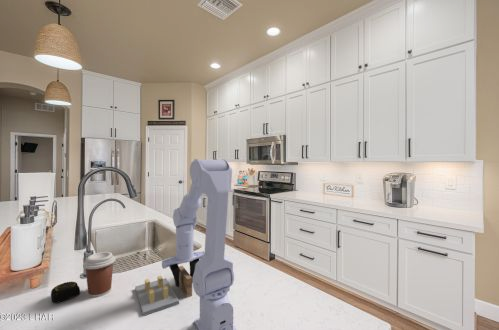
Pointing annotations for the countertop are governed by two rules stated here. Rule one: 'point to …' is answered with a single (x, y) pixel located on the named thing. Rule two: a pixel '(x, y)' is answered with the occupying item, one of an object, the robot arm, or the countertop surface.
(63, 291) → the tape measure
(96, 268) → the coffee cup
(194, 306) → the countertop surface
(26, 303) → the countertop surface
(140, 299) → the hinge board
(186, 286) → the door panel
